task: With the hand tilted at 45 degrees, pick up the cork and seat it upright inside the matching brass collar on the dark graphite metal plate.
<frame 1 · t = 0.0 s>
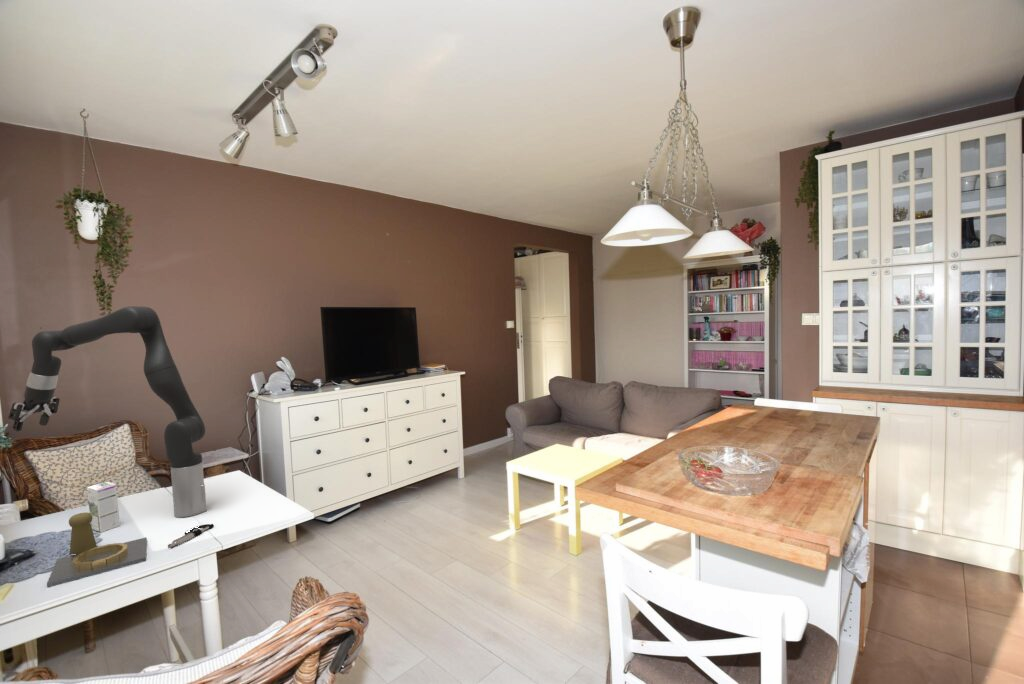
hand: (30, 427, 168), 31 cm above the table, tool tilted 20°, fingers open, 8 cm apart
micrometer: (186, 538, 148), on the table
cork: (83, 550, 141), on the table
syrup box: (105, 528, 156), on the table
collar plate: (101, 561, 133), on the table
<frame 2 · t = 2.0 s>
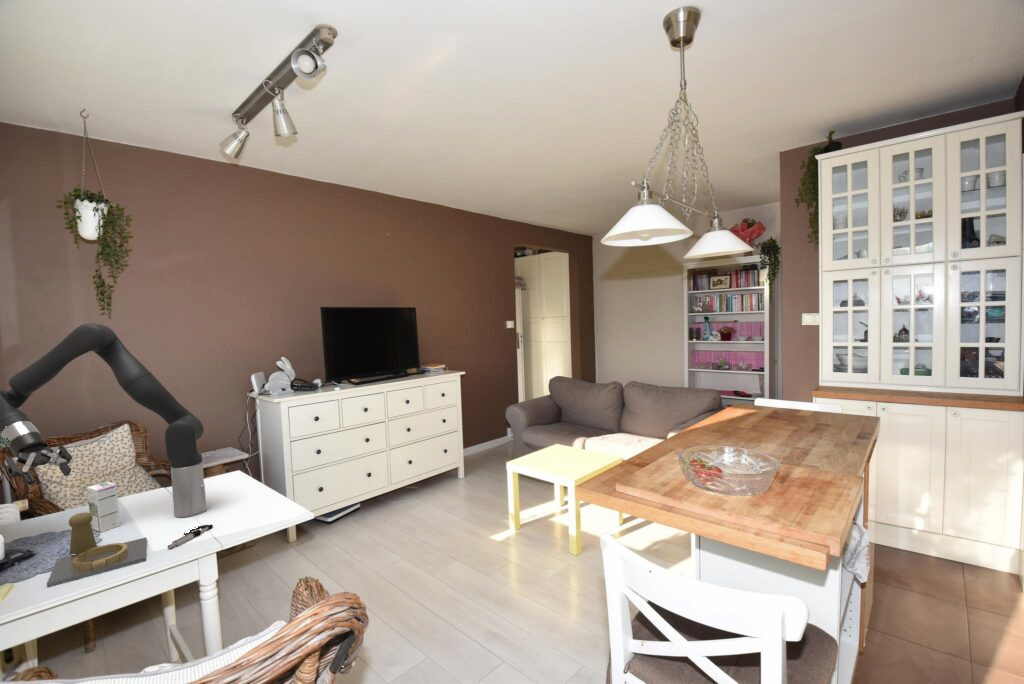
hand: (51, 478, 143), 21 cm above the table, tool tilted 45°, fingers open, 8 cm apart
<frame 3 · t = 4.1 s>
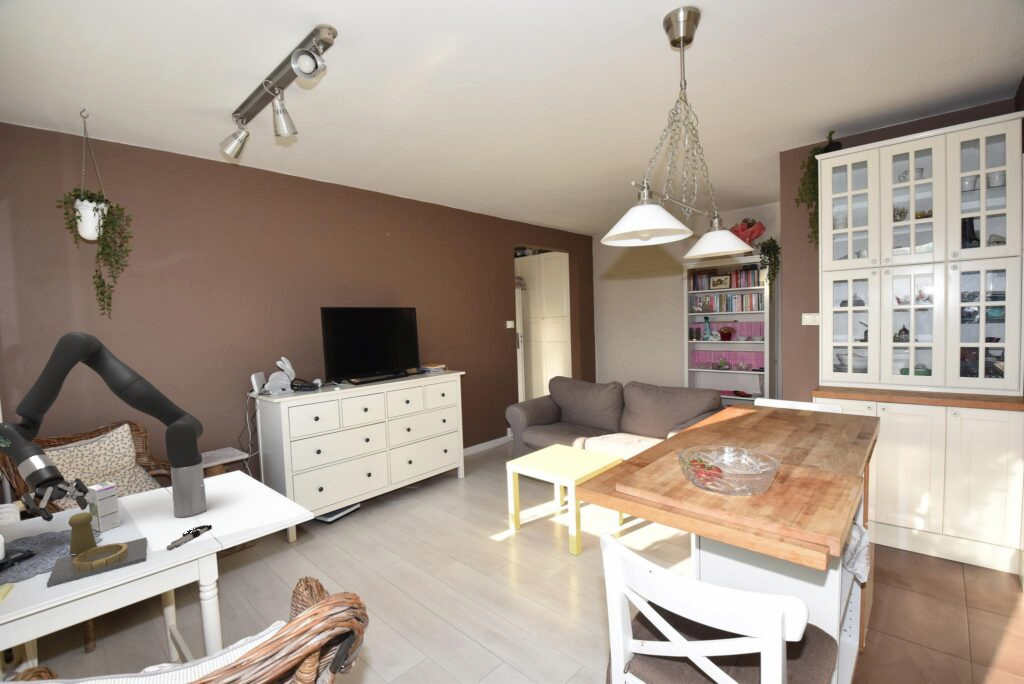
hand: (68, 513, 142), 11 cm above the table, tool tilted 45°, fingers open, 8 cm apart
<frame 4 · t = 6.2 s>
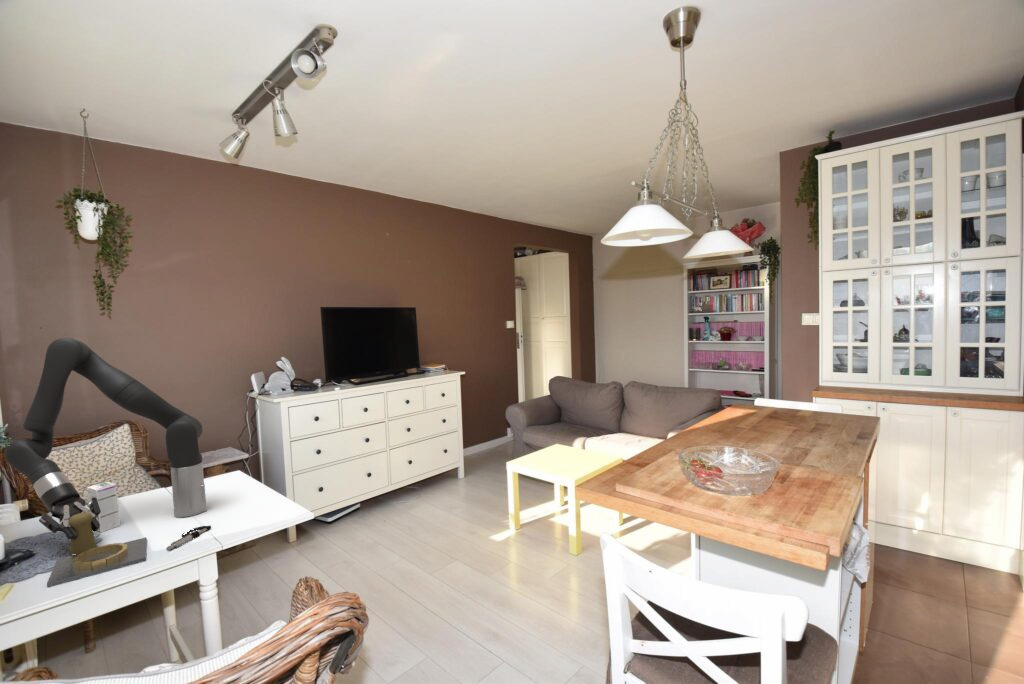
hand: (86, 533, 140), 5 cm above the table, tool tilted 45°, fingers closed on cork, 5 cm apart
cork: (83, 550, 141), on the table, touching gripper
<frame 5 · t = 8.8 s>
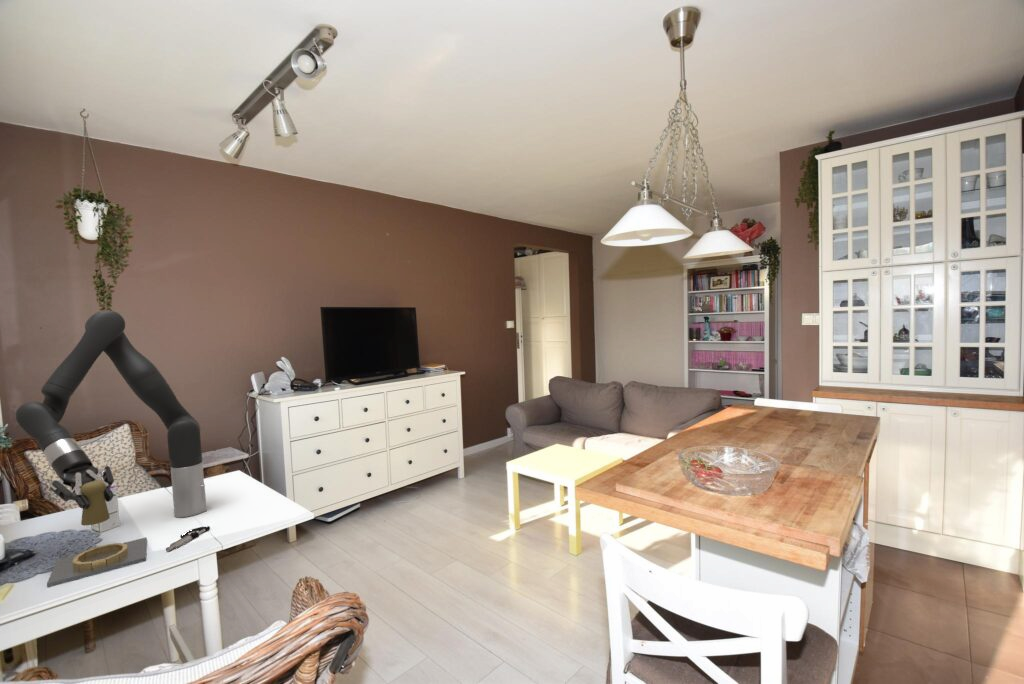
hand: (99, 503, 132), 17 cm above the table, tool tilted 45°, fingers closed on cork, 5 cm apart
cork: (95, 521, 133), point 12 cm above the table, touching gripper
when the fingers open (7 cm above the table, at t = 11.2 s): cork moves 1 cm, resting on collar plate.
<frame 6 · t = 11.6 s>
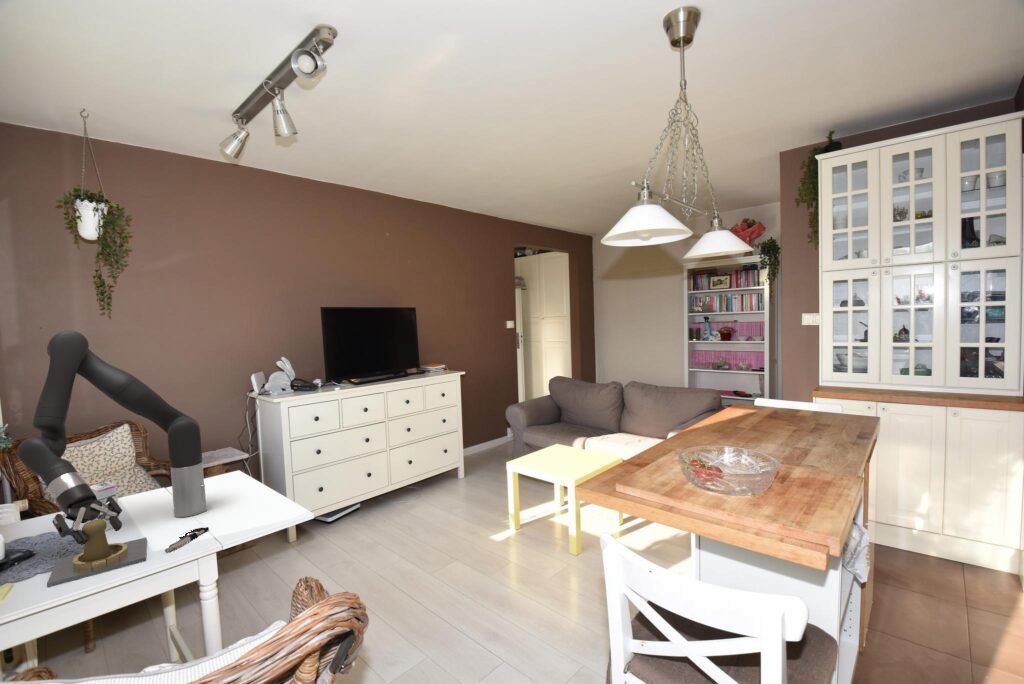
hand: (102, 535, 133), 8 cm above the table, tool tilted 45°, fingers open, 8 cm apart
cork: (97, 560, 133), point 1 cm above the table, touching collar plate
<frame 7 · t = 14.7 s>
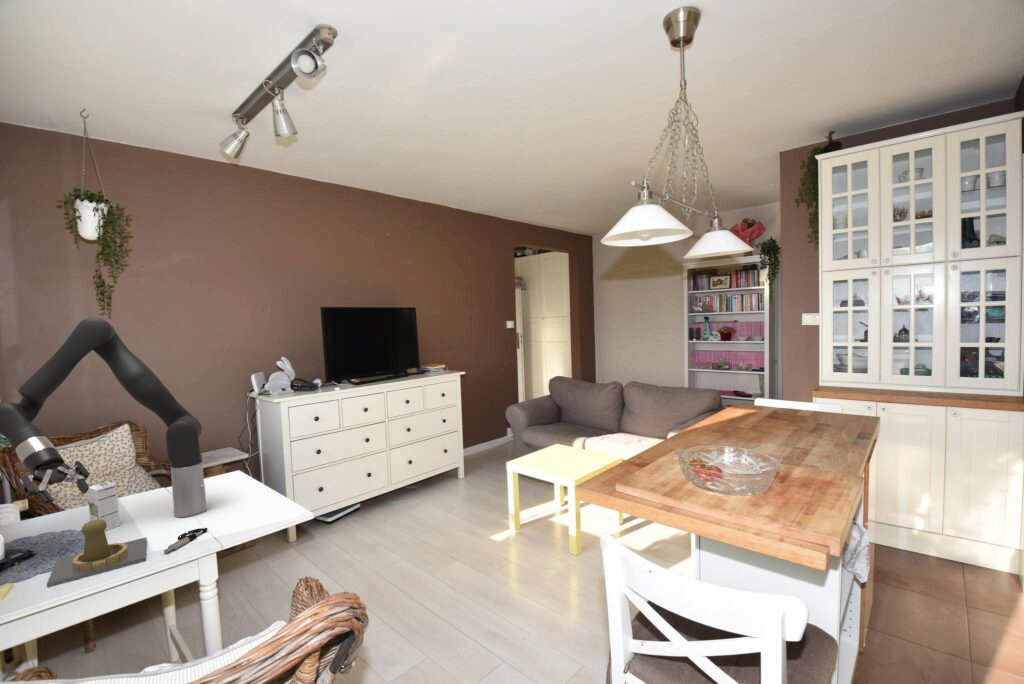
hand: (68, 497, 136), 18 cm above the table, tool tilted 45°, fingers open, 8 cm apart
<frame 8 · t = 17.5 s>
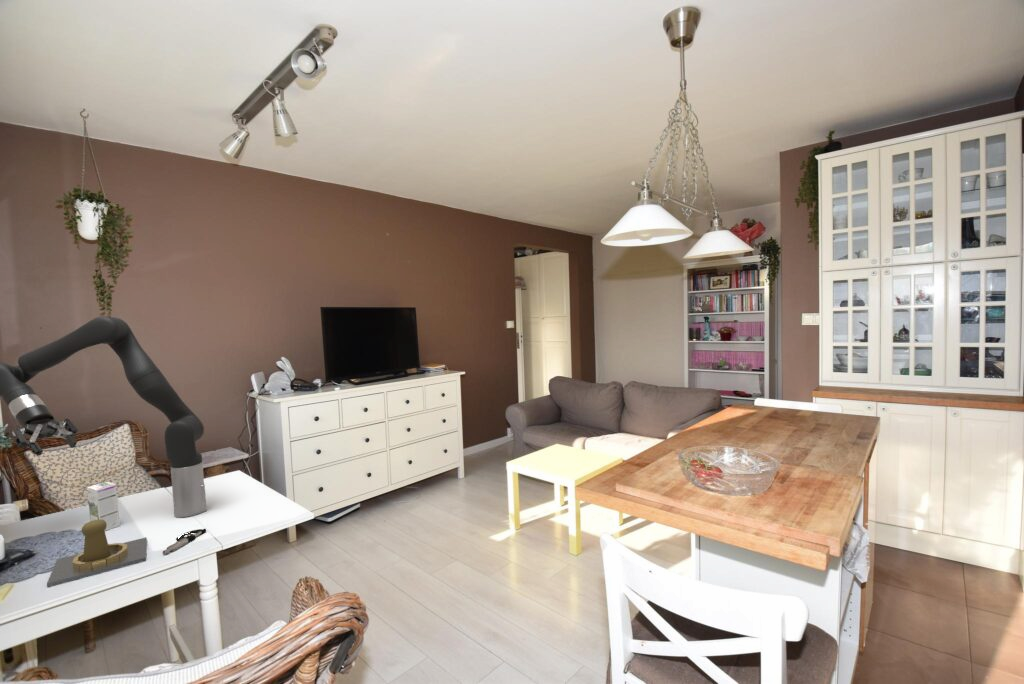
hand: (57, 449, 146), 29 cm above the table, tool tilted 45°, fingers open, 8 cm apart
at the end: cork 0.9 cm off-centre on the collar plate, point 0.8 cm above the collar plate's base; cork tilted 0°; the gripper is holding nothing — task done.
